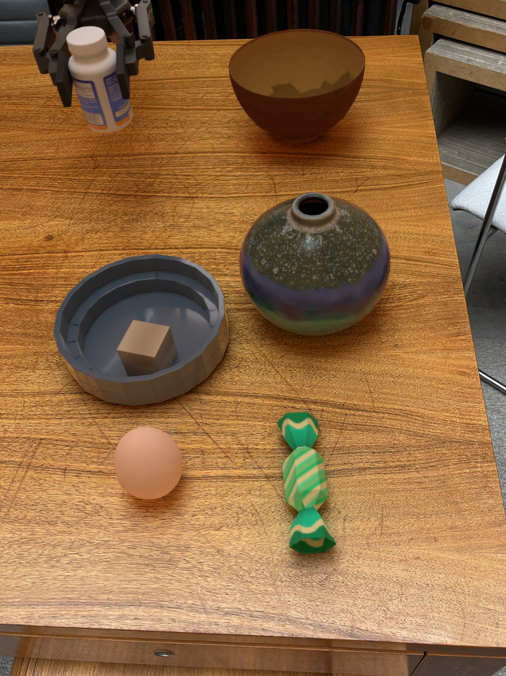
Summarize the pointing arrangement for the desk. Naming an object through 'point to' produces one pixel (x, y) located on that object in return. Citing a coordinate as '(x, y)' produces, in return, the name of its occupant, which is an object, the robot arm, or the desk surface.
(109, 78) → the pill bottle
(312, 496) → the candy
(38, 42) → the robot arm
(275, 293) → the vase
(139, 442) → the egg
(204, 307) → the bowl
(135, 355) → the block
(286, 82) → the bowl
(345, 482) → the desk surface
